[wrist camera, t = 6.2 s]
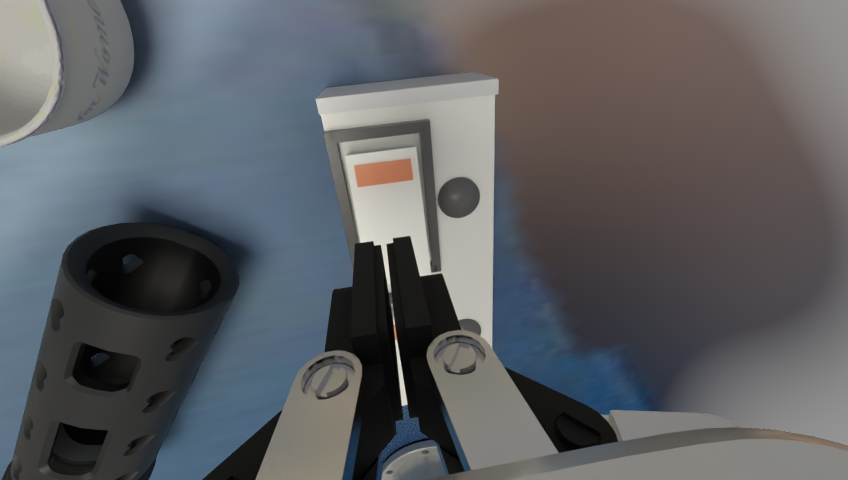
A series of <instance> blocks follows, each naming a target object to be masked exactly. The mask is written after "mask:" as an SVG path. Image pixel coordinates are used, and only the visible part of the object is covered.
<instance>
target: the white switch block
mask: <svg viewBox="0 0 848 480" xmlns="http://www.w3.org/2000/svg"><path fill="white" fill-rule="evenodd" d="M498 86H499V79H498V78H494V77H490V76H486V75H483V74H479V73H475V72H466V73H457V74H448V75H438V76H429V77H420V78H411V79H402V80H393V81H383V82H374V83H365V84H356V85H347V86H338V87H328V88H325V89H324V90H323V91H322V93H321V94H320V95H319V96H318V97H317V98H316V103H317V107H318V112H319V115H321V118H322V123H323V127H324V133H323V134H324V139H325V143H326V148H327V152H328V157H329V161H330V165H331V170H332V174H333V179H334V183H335V188H336V192H337V197H338V201H339V206H340V210H341V215H342V219H343V224H344V228H345V233H346V237H347V242H348V246H349V250H350V255H351V259H352V264H353V268H354V251H355V244H356V243H360V237H359V231H358V226H357V220H356V215H355V209H354V203H353V198H352V192H351V186H350V181H349V175H348V170H347V164H346V158H345V156H346V155H350V154H358V153H366V152H374V151H382V150H390V149H398V148H406V147H414V146H415V147H416V150H417V158H418V166H419V175H420V183H421V191H422V200H423V208H424V217H425V225H426V233H427V242H428V250H429V259H430V267H431V275H433V274H439V273H442V275H443V277H444V280H445V283H446V286H447V289H448V292H449V295H450V298H451V301H452V303H453V306H454V309H455V312H456V315H457V318H458V321H459V324H460V327H461V330H462V331H469V332H473V333H476V334H478V335H479V336H481V337H482V338H484V339H485V340H486V341H487V342H488V344H489V345H490V346H491V348H492V309H493V222H494V135H495V94H498ZM387 285H388V291H389V298H390V304H391V310H392V311H393V302H392V292H391V283H390V284H387Z"/></svg>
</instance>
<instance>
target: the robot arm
mask: <svg viewBox="0 0 848 480" xmlns="http://www.w3.org/2000/svg"><path fill="white" fill-rule="evenodd" d="M386 245H387V255H388V264H389V273H390V283H391V292H392V302H393V311H394V320H395V328H396V336H397V342H398V348H399V355H400V361H401V367H402V373H403V379H404V386H405V392H406V398H407V404H408V410H409V416H410V418H414V417H418V418H419V425H420V432H422V433H423V434H424V435H426V436H427V437H429V438H430V439H432V440H427V441H421V442H418V443H414V444H411V445H409V446H406V447H404V448H402V449H400V450H399V451H397V452H395V453H394V454H393V455H392V456H390V457H389V458H388V459H387V460H386V462H385V463H384V464H383V452H382V451H383V450H384V448H385V447H386V446H387V445H388V443H389V442H390V441H391V440H392V439H393V437H394V435H396V423H395V421H398V420H403V412H402V402H401V393H400V383H399V373H398V363H397V353H396V343H395V334H394V324H393V316H392V310H391V304H390V298H389V291H388V285H387V279H386V273H385V267H384V261H383V255H382V249H381V245H375V246H374V242H373V241H370V242H363V243H356V244H355V251H354V270H353V287H347V288H341V289H334V290H333V294H332V301H331V308H330V316H329V323H328V331H327V338H326V345H325V353H322V354H320V355H317V356H315V357H314V358H312V359H311V360H309V361H308V362H307V363H306V364H305V365H304V366H303V367H302V368H301V369H300V370H299V372H298V374H297V375H296V377H295V379H294V382H293V384H292V387H291V390H290V392H289V395H288V397H287V400H286V402H285V405H284V408H283V410H281V411H280V412H279V413H278V414H277V415H276V416H275V417H273V418H272V419H271V420H270V421H269V422H268V423H267V424H265V425H264V426H263V427H262V428H261V429H260V430H259V431H257V432H256V433H255V434H254V435H253V436H252V437H251V438H249V439H248V440H247V441H246V442H245V443H244V444H243V445H241V446H240V447H239V448H238V449H237V450H236V451H235V452H233V453H232V454H231V455H230V456H229V457H228V458H227V459H225V460H224V461H223V462H222V463H221V464H220V465H219V466H217V467H216V468H215V469H214V470H213V471H212V472H211V473H209V474H208V475H207V476H206V477H205V478H204V479H203V480H848V446H847V445H844V444H841V443H837V442H833V441H830V440H826V439H821V438H818V437H814V436H808V435H802V434H796V433H790V432H785V431H778V430H770V429H759V428H740V427H738V426H737V425H736V424H734V423H733V422H731V421H728V420H726V419H723V418H721V417H719V416H716V415H710V414H704V413H682V412H654V411H625V410H611V411H610V415H600V414H599V413H598V412H597V411H595V410H593V409H592V408H590V407H588V406H587V405H585V404H582V403H580V402H578V401H576V400H574V399H572V398H570V397H567V396H565V395H563V394H561V393H559V392H557V391H555V390H552V389H550V388H548V387H546V386H544V385H542V384H540V383H538V382H535V381H533V380H531V379H529V378H527V377H525V376H523V375H520V374H518V373H516V372H514V371H512V370H510V369H508V368H505V367H503V365H502V363H501V362H500V360H499V359H498V357H497V356H496V354H495V352H494V351H493V349H492V348H491V346H490V345H489V344H488V342H487V341H486V340H485V339H484V338H482V337H481V336H479V335H478V334H476V333H473V332H469V331H462V330H461V327H460V324H459V321H458V318H457V315H456V312H455V309H454V306H453V303H452V301H451V298H450V295H449V292H448V289H447V286H446V283H445V280H444V277H443V275H442V273H439V274H433V275H426V276H420V274H419V270H418V266H417V262H416V258H415V254H414V249H413V245H412V241H411V237H410V236H405V237H398V238H393V243H389V244H386Z"/></svg>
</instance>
